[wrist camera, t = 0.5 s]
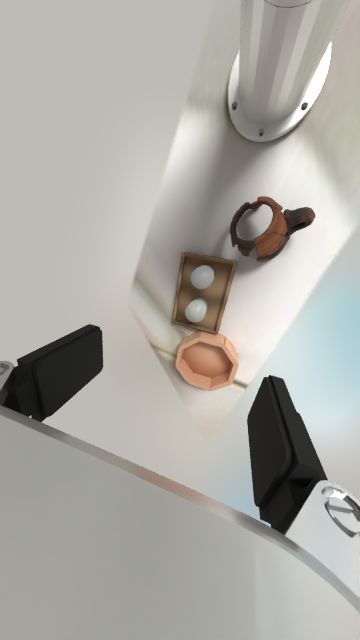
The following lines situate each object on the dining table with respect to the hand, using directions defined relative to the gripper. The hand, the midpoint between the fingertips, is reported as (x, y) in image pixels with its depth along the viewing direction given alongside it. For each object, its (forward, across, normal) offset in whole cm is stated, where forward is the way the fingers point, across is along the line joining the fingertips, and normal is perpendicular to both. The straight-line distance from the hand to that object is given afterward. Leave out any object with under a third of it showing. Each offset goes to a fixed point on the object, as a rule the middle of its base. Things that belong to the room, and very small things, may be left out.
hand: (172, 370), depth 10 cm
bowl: (+32, -2, +18) cm, 37 cm away
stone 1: (+30, +3, -2) cm, 30 cm away
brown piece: (+31, -6, -11) cm, 33 cm away
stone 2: (+31, +3, +5) cm, 31 cm away
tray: (+31, +3, +3) cm, 31 cm away
